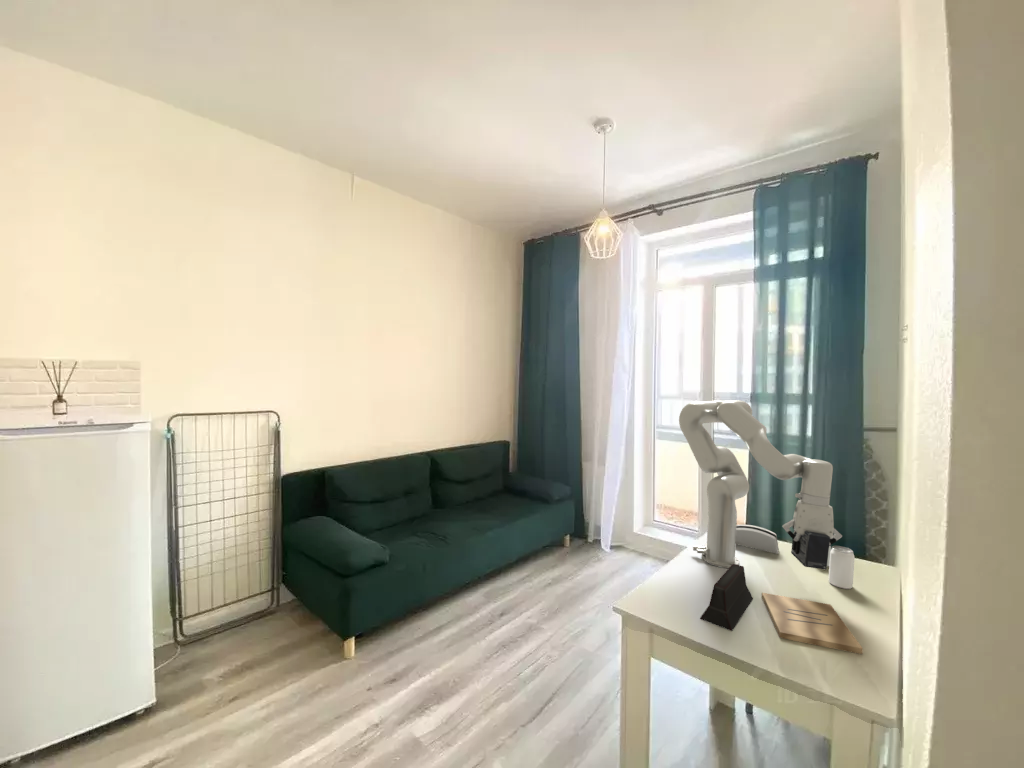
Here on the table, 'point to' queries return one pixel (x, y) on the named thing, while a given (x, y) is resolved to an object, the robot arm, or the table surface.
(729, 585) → the barrier
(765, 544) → the white arched block
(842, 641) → the board
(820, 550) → the small box
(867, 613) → the table surface
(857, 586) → the table surface
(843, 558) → the can
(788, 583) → the table surface
